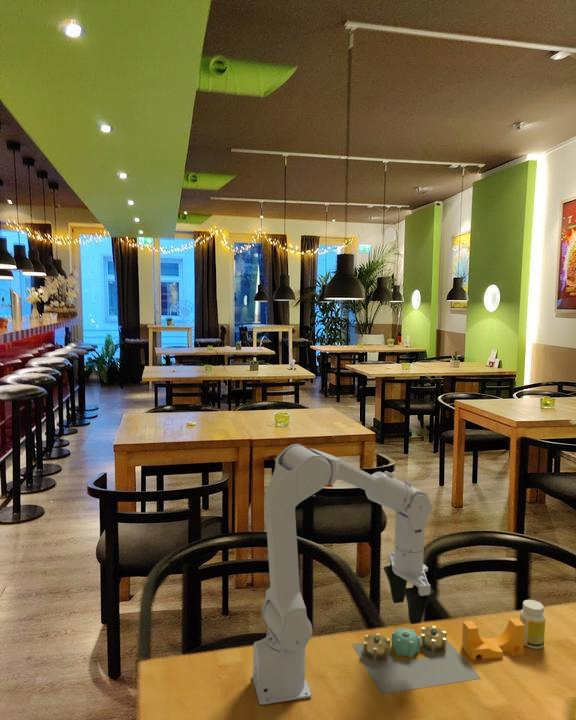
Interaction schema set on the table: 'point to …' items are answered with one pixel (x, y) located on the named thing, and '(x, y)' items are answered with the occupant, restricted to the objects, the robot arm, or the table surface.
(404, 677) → the gear board
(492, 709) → the table surface
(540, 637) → the supplement bottle
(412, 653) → the teal gear
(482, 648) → the pipe clamp
